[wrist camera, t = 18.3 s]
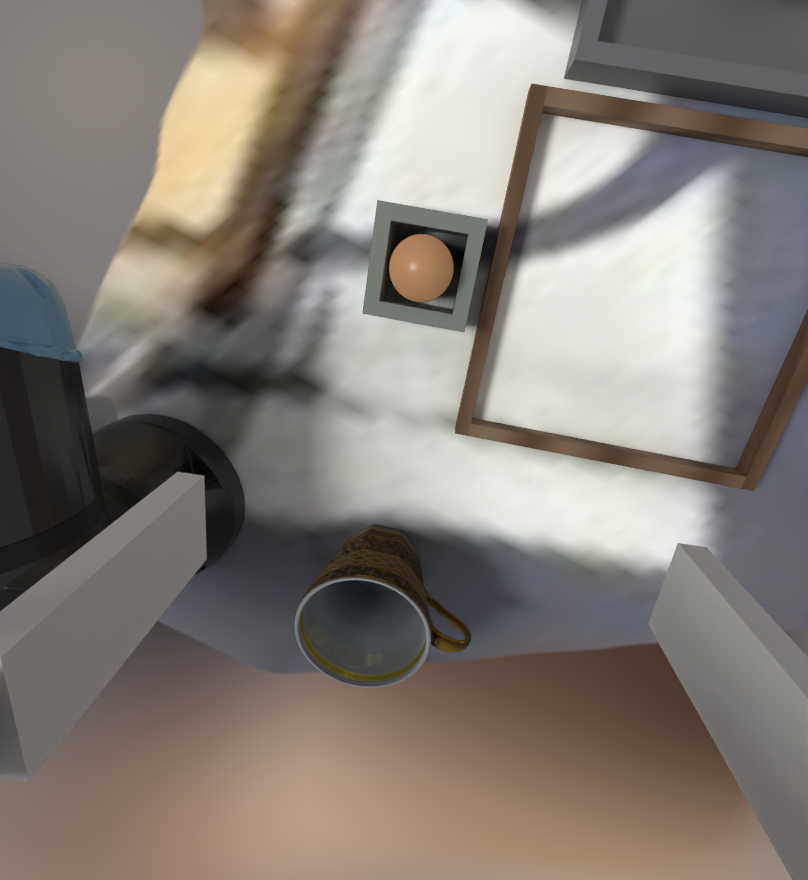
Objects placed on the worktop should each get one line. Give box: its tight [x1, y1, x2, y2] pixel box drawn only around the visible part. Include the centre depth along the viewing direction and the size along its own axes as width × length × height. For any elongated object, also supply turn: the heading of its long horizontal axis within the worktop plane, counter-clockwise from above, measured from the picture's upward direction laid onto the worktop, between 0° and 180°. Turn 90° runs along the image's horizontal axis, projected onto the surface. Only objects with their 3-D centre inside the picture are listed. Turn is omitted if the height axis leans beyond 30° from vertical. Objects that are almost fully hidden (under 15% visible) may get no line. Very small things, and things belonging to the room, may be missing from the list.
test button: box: [389, 234, 454, 302], centre depth 32 cm, size 4×4×4 cm
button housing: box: [363, 200, 488, 332], centre depth 33 cm, size 7×7×4 cm
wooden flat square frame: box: [455, 84, 808, 491], centre depth 34 cm, size 23×23×2 cm
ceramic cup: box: [294, 525, 471, 688], centre depth 39 cm, size 13×10×10 cm
